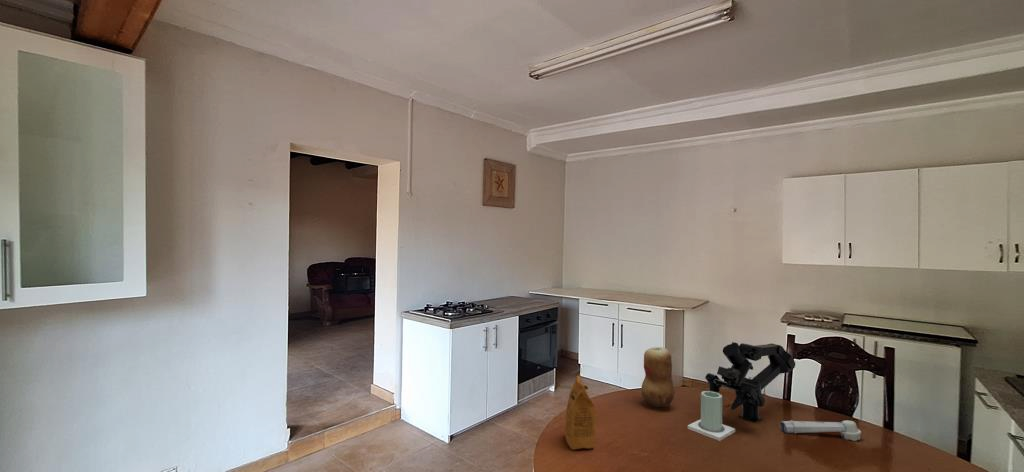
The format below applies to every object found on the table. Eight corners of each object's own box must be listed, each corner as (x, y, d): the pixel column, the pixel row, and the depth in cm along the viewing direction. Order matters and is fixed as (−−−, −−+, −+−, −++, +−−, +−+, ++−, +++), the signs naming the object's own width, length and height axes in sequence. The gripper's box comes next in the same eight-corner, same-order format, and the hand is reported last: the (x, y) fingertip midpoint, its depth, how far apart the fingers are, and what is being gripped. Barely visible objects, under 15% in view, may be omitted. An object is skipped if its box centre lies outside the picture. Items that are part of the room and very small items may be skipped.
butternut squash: (635, 401, 182) (636, 344, 182) (662, 398, 185) (662, 343, 186) (653, 414, 169) (653, 353, 169) (682, 411, 172) (682, 351, 172)
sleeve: (714, 422, 158) (715, 391, 158) (725, 430, 152) (725, 397, 152) (697, 422, 158) (698, 391, 158) (707, 430, 151) (707, 398, 151)
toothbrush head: (778, 418, 157) (853, 416, 152) (781, 436, 157) (856, 434, 152) (784, 424, 152) (862, 422, 147) (787, 442, 152) (865, 441, 146)
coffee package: (590, 434, 150) (591, 374, 151) (597, 451, 138) (598, 386, 138) (563, 433, 150) (564, 373, 151) (567, 451, 138) (568, 385, 138)
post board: (703, 420, 163) (703, 408, 163) (735, 431, 154) (735, 418, 154) (687, 428, 156) (687, 415, 156) (719, 441, 146) (719, 427, 146)
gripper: (707, 353, 168) (689, 384, 163) (752, 365, 152) (734, 401, 146) (720, 369, 172) (702, 400, 166) (765, 383, 155) (747, 418, 150)
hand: (720, 404), depth 157 cm, fingers open, 9 cm apart
